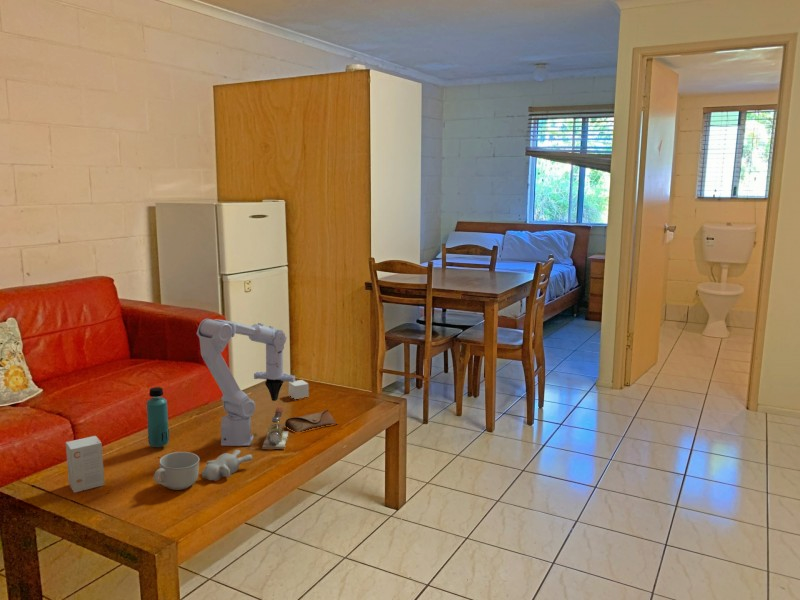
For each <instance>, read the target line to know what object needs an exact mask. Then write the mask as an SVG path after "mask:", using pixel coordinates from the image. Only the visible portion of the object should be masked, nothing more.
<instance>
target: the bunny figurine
mask: <svg viewBox="0 0 800 600" xmlns="http://www.w3.org/2000/svg"><path fill="white" fill-rule="evenodd" d="M240 454H241V450H239V449H235V450H234V451H233V452H232V453H227V452H224V453H222V454H220V455H218V457H217V458H216V459H214V460H208V461H207V462H206V465H205V466H204V467H203V468H204V469H202V471H201V472H200V473H201V477H202V478H204V479H207V480H209V481H215V482H217V481H219V480H221V478H224V477H225V478H229V477H231V475H232V473H233V474H234V473H236V472H237V471H238V470H239V467H240V465H241V464H242V463H246V462H251V461H253V459H254V458H253V455H252V454H246V455H244V456H243V455H242V456H241V457H238V456H239V455H240Z"/></svg>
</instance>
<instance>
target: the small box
mask: <svg viewBox="0 0 800 600" xmlns="http://www.w3.org/2000/svg"><path fill="white" fill-rule="evenodd" d="M102 444H103V443H102V442H101V440H100V439H99V438H98V437H97V436H96V435H92V436H87V437H84V438H79V439H75V440H69V441H65V450H66V451H65V453H66V464H67V475H68V477H67V478H68V486H69V487H70V489H71V490H72V491H73V494H75V493H79V492H82V491H83V490H84V491H86V490H90V489H93V488H98V487H102V486H105V475H104V473H105V471H104V460H103V459H104V458H103V445H102Z"/></svg>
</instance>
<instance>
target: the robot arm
mask: <svg viewBox="0 0 800 600" xmlns="http://www.w3.org/2000/svg"><path fill="white" fill-rule="evenodd" d="M196 335H197V337H198V338H199V347H200V355H201V357H202V359H203V362H204V363H205V364H206V367H207V368H208V370H209V372H210V373H211V375H212V377H213V379H214V380H215V382H216V384H217V386H218V387H219V389H220V391H221V392H222V396H221V397H220V399H221V401H222V407H223V410H224V411H225V412H226V415H223V416H222V417H221V421H220V446H224V447H226V446H228V447H229V446H231V447H233V446H234V447H241V446H242V447H244V446H245V447H246V446H248V447H249V446H251V444H252V441H253V440H254V437H255V436H254V435H253V434H252V433H251V432H252V430H251V429H252V425H251V424H252V423H251V419H252V416H253V415H254V412H255V411H256V403H255V401H254V400H253V399H250V397H249V395H247V394H246V393H245V392H244V391H243V390H241V388H240V386H239V384H238V382H237V381H236V378H235V377H234V376H233V374H232V372H231V370H230V367H229V366H228V365H227V363H226V360H225V359H224V357H223V355H222V353H223V351H224V350H225V348H226V347H227V345H228V344H229V342H230V340H231V338H234V337H235V335H240V336H241V335H243V336H248V338H249V340H250V341H253V342H256V343H261V344H265V371H263V372H258V371H256V372H254V373H253V379H254V380H258V379H260V380H265V382H264V384H265V386H266V388H267V389H268V391H269V394H270V398H271V401H272V402H273V401H274V402H276V401H277V400H279V398H278V397H279V393H280V391H281V389H282V386H283V384H284V382H288V383H289V382H291V383H293V382H295V381H296V375H294V374H293V375H292V374H288V373H284V369H283V368H284V364H283V363H284V355H283V354H284V352H283V351H284V349H285V344H286V343H287V336H286V334H285V332H284V331H283V330H281V329H277V328H274V326H271V325H269V326H265V325H264V323H260V322H258V323H254V324H252V325H251V326H250V325H245V324H242V323H238V322H235V321H230V320H224V319H211V318H205V319H203V320H201V322H200V323H199V325H198V327H197V331H196Z"/></svg>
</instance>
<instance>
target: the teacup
mask: <svg viewBox="0 0 800 600" xmlns="http://www.w3.org/2000/svg"><path fill="white" fill-rule="evenodd" d="M199 465H200V457H199V456H198V455H197V454H196V453H193V452H189V451H175V452H170V453H167V454H165V455H163V456H162V457H160V459H159V468H158V469H157V470H155V472H154V474H153V480H154V481H155V483H156V484H158V485H159V484H160V485H162V486H163V487H166V488H167V489H169V490H170V489H171V490H174V491H178V490H179V491H180V490H181V491H182V490H185V489H187V488H189V487H191V486H192V485H194V483H196V481H197V480H198V477H199V472H200V471H199V469H200V467H199Z"/></svg>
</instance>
